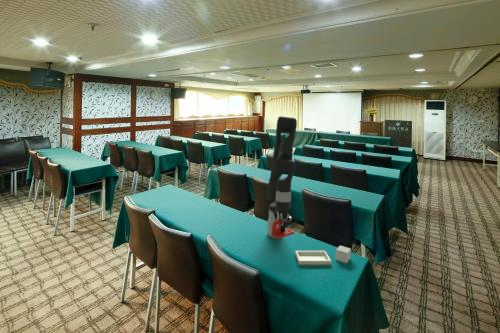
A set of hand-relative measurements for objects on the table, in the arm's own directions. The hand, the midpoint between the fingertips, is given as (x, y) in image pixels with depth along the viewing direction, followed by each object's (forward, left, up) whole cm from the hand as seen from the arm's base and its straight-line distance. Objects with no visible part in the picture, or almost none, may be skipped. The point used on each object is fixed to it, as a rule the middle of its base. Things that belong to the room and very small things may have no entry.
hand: (281, 231), depth 144 cm
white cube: (+18, +29, -17) cm, 38 cm away
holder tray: (+9, +15, -17) cm, 24 cm away
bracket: (+2, 0, -1) cm, 2 cm away
